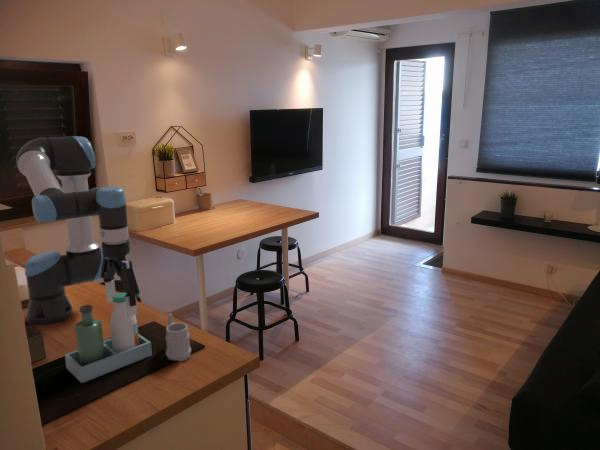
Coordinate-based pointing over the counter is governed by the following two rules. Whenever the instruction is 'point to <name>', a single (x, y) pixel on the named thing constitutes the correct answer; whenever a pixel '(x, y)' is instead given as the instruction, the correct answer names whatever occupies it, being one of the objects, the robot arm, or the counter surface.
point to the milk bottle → (122, 326)
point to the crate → (107, 360)
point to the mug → (177, 340)
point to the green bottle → (89, 337)
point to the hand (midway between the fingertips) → (121, 308)
